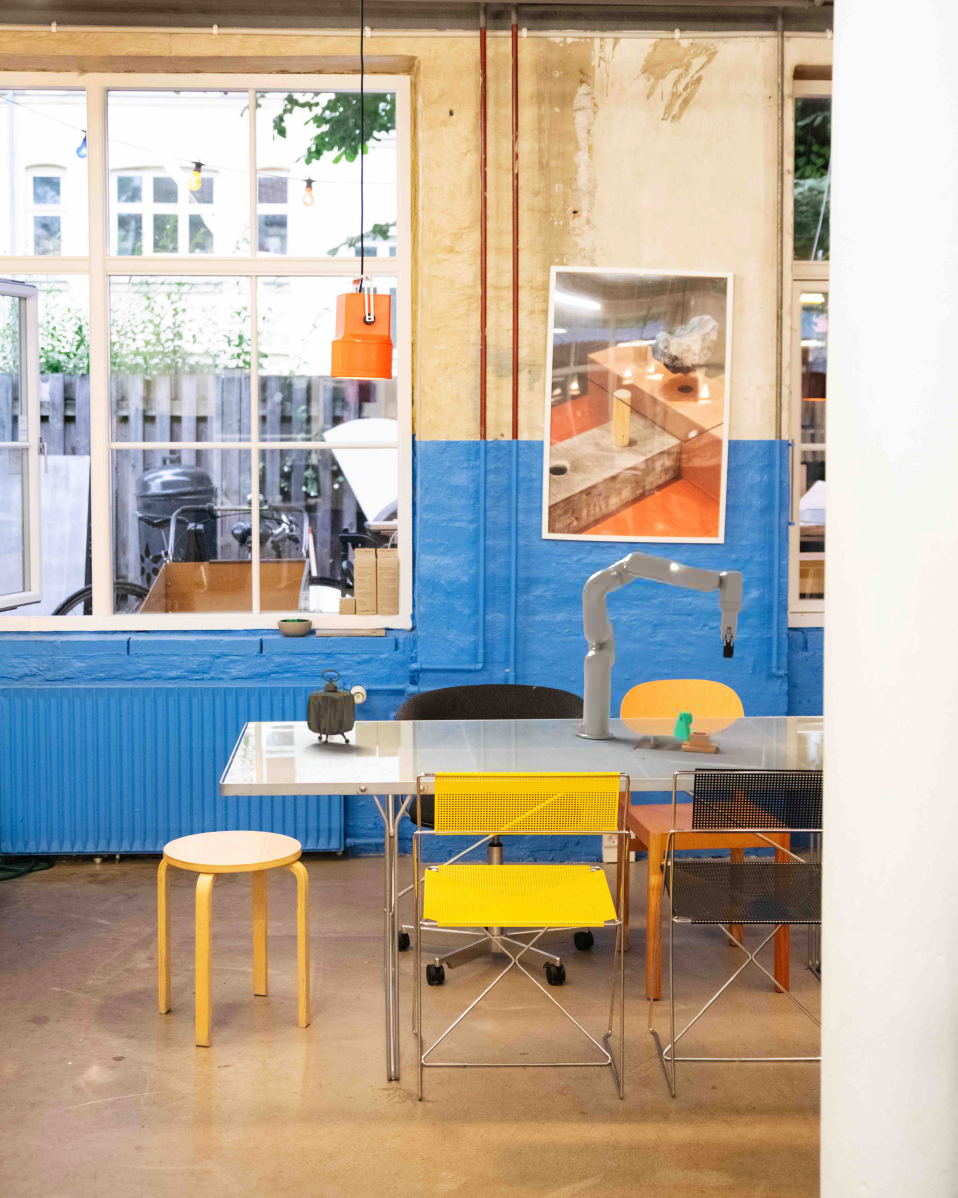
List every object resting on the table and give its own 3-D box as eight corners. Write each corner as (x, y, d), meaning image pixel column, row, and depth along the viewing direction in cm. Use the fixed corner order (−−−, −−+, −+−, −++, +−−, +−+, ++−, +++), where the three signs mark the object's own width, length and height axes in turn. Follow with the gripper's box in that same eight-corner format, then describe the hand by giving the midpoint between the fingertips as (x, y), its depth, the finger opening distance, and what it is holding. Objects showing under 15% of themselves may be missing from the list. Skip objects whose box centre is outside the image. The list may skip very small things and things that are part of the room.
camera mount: (707, 744, 401) (708, 715, 400) (687, 744, 399) (688, 715, 398) (693, 737, 413) (694, 709, 412) (673, 738, 411) (674, 709, 410)
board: (634, 750, 385) (634, 739, 384) (638, 744, 396) (638, 732, 396) (716, 756, 378) (716, 744, 378) (717, 750, 390) (718, 738, 390)
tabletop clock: (354, 743, 384) (356, 669, 383) (340, 748, 376) (341, 672, 375) (318, 739, 391) (319, 666, 389) (303, 743, 382) (304, 669, 381)
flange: (714, 753, 379) (715, 737, 378) (681, 750, 381) (681, 735, 381) (716, 747, 389) (716, 732, 389) (683, 744, 392) (684, 729, 392)
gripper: (720, 604, 404) (718, 653, 405) (718, 608, 387) (716, 658, 389) (742, 605, 402) (740, 654, 403) (740, 609, 386) (738, 659, 387)
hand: (728, 656), depth 396 cm, fingers open, 9 cm apart
